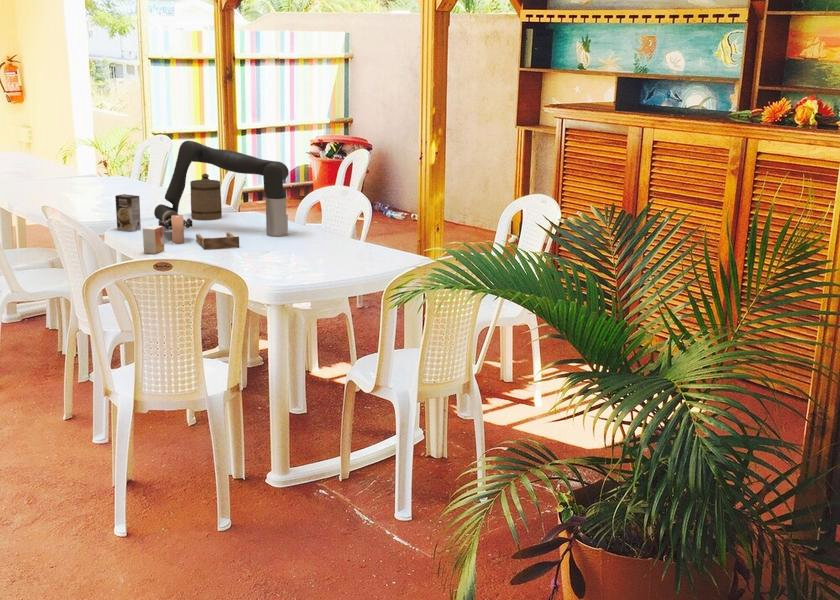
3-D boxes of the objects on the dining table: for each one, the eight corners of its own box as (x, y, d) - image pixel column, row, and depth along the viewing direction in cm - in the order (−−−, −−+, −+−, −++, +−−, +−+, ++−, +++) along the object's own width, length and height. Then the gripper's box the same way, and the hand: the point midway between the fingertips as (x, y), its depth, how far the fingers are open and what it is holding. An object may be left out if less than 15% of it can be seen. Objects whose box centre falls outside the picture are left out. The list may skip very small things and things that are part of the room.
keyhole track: (230, 239, 425) (229, 229, 424) (239, 247, 409) (239, 236, 408) (196, 241, 419) (195, 231, 418) (204, 249, 403) (204, 239, 402)
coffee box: (116, 230, 438) (114, 195, 434) (125, 227, 444) (123, 193, 440) (132, 232, 435) (130, 197, 431) (141, 229, 441) (139, 195, 437)
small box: (156, 254, 393) (154, 229, 390) (143, 253, 394) (142, 228, 391) (164, 250, 400) (163, 225, 398) (152, 249, 401) (151, 225, 399)
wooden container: (210, 214, 484) (209, 171, 478) (227, 218, 474) (226, 174, 468) (185, 217, 474) (183, 173, 468) (202, 221, 464) (200, 176, 458)
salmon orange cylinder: (183, 241, 418) (182, 214, 415) (185, 243, 414) (184, 216, 411) (171, 242, 416) (170, 215, 413) (173, 244, 412) (172, 217, 409)
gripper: (155, 212, 423) (160, 218, 408) (187, 210, 428) (194, 217, 414) (156, 228, 425) (161, 235, 410) (188, 227, 430) (194, 234, 416)
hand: (178, 226), depth 412 cm, fingers open, 8 cm apart
